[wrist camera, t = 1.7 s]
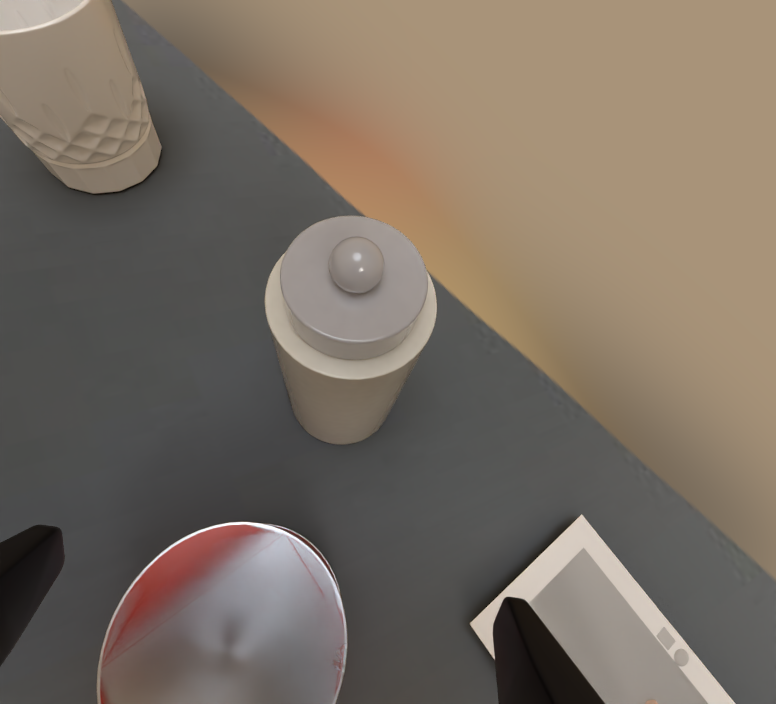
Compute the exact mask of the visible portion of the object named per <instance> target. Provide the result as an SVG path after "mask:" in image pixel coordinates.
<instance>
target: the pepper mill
mask: <svg viewBox="0 0 776 704" xmlns="http://www.w3.org/2000/svg"><path fill="white" fill-rule="evenodd" d="M265 311H266V316H267V320H268V324H269V328H270V331H271V335H272V338H273V342H274V345H275V349H276V352H277V356H278V360H279V363H280V367H281V370H282V374H283V377H284V381H285V384H286V388H287V392H288V395H289V399H290V402H291V406H292V409H293V412H294V415H295V417H296V419H297V420H298V422H299V423H300V425H301V426H302V427H303V428H304V429H305V430H306V431H307V432H308V433H309V434H310V435H312V436H313V437H315V438H317V439H319V440H321V441H324V442H327V443H331V444H339V445H340V444H351V443H355V442H359V441H361V440H364V439H366V438H367V437H369V436H371V435H372V434H373V433H375V432H376V431H377V430H378V429H379V428H380V427H381V425H382V424H383V423H384V421H385V420H386V418H387V416H388V414H389V412H390V410H391V408H392V407H393V405H394V403H395V401H396V399H397V397H398V395H399V393H400V392H401V390H402V388H403V386H404V384H405V382H406V380H407V379H408V377H409V375H410V373H411V371H412V369H413V367H414V366H415V364H416V362H417V360H418V358H419V356H420V354H421V352H422V351H423V349H424V347H425V345H426V343H427V341H428V339H429V338H430V336H431V334H432V331H433V328H434V325H435V320H436V315H437V301H436V294H435V290H434V286H433V283H432V281H431V278H430V276H429V274H428V272H427V270H426V267H425V264H424V262H423V259H422V257H421V255H420V253H419V251H418V250H417V249H416V247H415V246H414V245H413V243H412V242H411V241H410V240H409V239H408V238H407V237H406V236H405V235H404V234H402V233H401V232H400V231H398V230H397V229H395V228H394V227H392V226H390V225H388V224H386V223H384V222H381V221H378V220H376V219H372V218H368V217H362V216H339V217H333V218H329V219H326V220H323V221H320V222H318V223H315V224H314V225H312V226H310V227H308V228H307V229H306V230H304V231H303V232H302V233H300V234H299V235H298V236H297V237H296V238H295V239H294V241H293V242H292V243H291V245H290V246H289V248H288V249H287V251H286V252H285V253H284V254H283V255H282V257H281V258H280V259H279V260H278V262H277V263H276V265H275V266H274V268H273V270H272V272H271V274H270V277H269V279H268V282H267V286H266V291H265Z"/></svg>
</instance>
